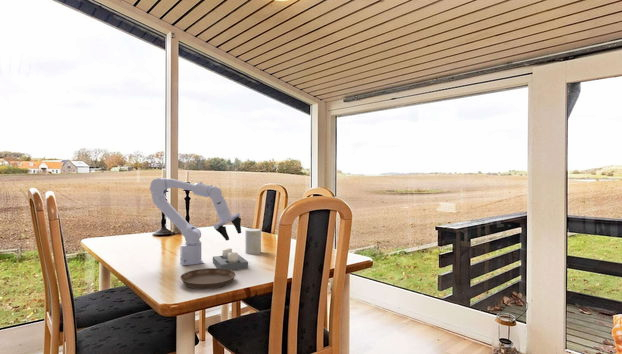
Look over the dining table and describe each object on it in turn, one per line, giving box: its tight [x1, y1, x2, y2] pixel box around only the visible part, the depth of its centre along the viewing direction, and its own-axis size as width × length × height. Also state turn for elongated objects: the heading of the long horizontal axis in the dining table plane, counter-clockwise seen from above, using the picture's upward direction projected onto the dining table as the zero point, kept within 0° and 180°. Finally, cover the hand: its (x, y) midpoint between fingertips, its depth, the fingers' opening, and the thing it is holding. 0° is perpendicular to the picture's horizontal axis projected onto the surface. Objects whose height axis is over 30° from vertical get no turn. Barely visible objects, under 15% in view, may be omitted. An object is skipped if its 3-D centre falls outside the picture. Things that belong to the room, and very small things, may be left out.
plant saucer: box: [180, 267, 236, 290], centre depth 145 cm, size 21×21×3 cm
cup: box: [244, 228, 262, 255], centre depth 197 cm, size 8×8×12 cm
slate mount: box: [212, 254, 249, 271], centre depth 170 cm, size 12×16×3 cm
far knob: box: [221, 247, 233, 259], centre depth 174 cm, size 4×4×4 cm
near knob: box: [228, 251, 239, 264], centre depth 166 cm, size 4×4×4 cm
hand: (233, 236), depth 179 cm, fingers open, 7 cm apart
